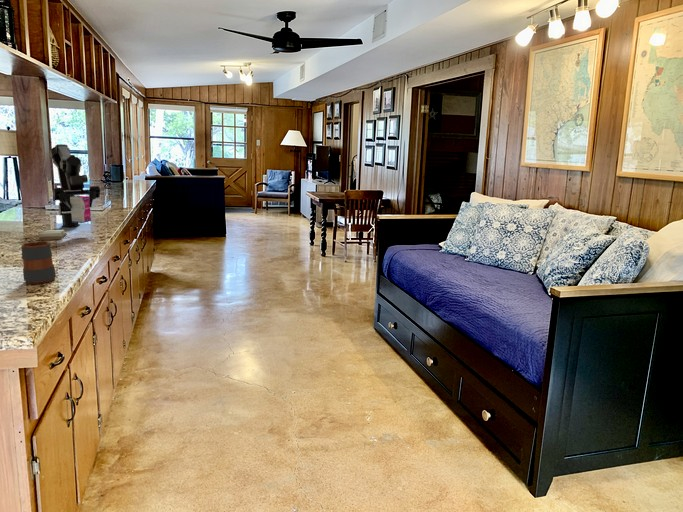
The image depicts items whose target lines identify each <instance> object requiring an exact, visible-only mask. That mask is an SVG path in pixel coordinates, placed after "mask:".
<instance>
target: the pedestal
mask: <svg viewBox="0 0 683 512" xmlns="http://www.w3.org/2000/svg"><path fill="white" fill-rule="evenodd" d="M39 235H40V236H38V240H41V241H53V240H52V239H62V238H64V237H65V236H66V235H67V236H68V234H67V232H66V230H65V229H49V230H47V229H45V230H44V231H41V232H40V233H39ZM67 236H66V237H67ZM66 237H65V238H66ZM65 238H64V239H65ZM62 240H63V239H62Z"/></svg>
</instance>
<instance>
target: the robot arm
mask: <svg viewBox="0 0 683 512" xmlns="http://www.w3.org/2000/svg"><path fill="white" fill-rule="evenodd" d="M49 150H50V152H49V155H50V157H49V158H50V159H51V160H52V163H53V164H54V165H55V167H56V168H57V174H58V179H59V185H60V187H54V188H53V199H54V200H55V201H59V202H58V214H59V215H60V216H61V220H62V225H61V226H62V227H61V228H74V226H75V227H78V226H81V223H72V214H71V203H70V197H74V196H89V200H90V208H92V205H93V201H94V200H96V199H99V198H100V196H101V187H100V186H99V185H91V186H89V189H84V188H85V185H84V184H87V183H88V181H89V180H88V176H87V174H82V175H80V173H81V168H82V160H81V159H80V158H79V157H77V156H75V155H76V154H71V151H70V150H71V149H70V148H69V146H68V144H55V146H54V147H52V148H50V149H49Z"/></svg>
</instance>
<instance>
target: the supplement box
mask: <svg viewBox="0 0 683 512" xmlns="http://www.w3.org/2000/svg"><path fill="white" fill-rule="evenodd" d="M70 203H71V214H72V223H78V224H84V223H88V222H89V223H90V222H92V214H91V213H92V212H91V207H90V200H89V195H75V196H74V197H70Z"/></svg>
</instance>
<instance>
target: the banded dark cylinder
mask: <svg viewBox="0 0 683 512" xmlns="http://www.w3.org/2000/svg"><path fill="white" fill-rule="evenodd" d="M20 249H21V259H22V263H23V268H22V273H23V275H22V276H23V281H25V284H28V285H41V284H47V283H52V282H53V281H55V280H56V277H57V274H56V273H57V272H56V269H55V265H54V262H53V252H52V248H51V244H50V242H49V241H34V242H26V243H23V244H21V248H20Z"/></svg>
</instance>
